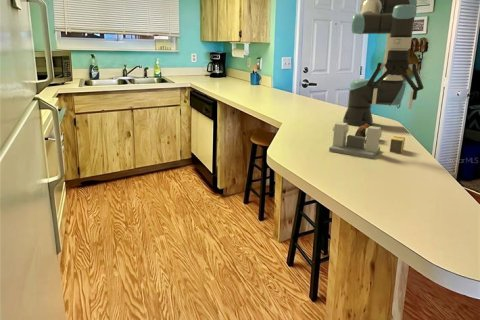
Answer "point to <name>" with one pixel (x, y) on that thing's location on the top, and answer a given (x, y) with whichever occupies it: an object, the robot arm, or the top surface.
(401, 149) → the box
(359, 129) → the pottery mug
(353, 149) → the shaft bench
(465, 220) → the top surface
